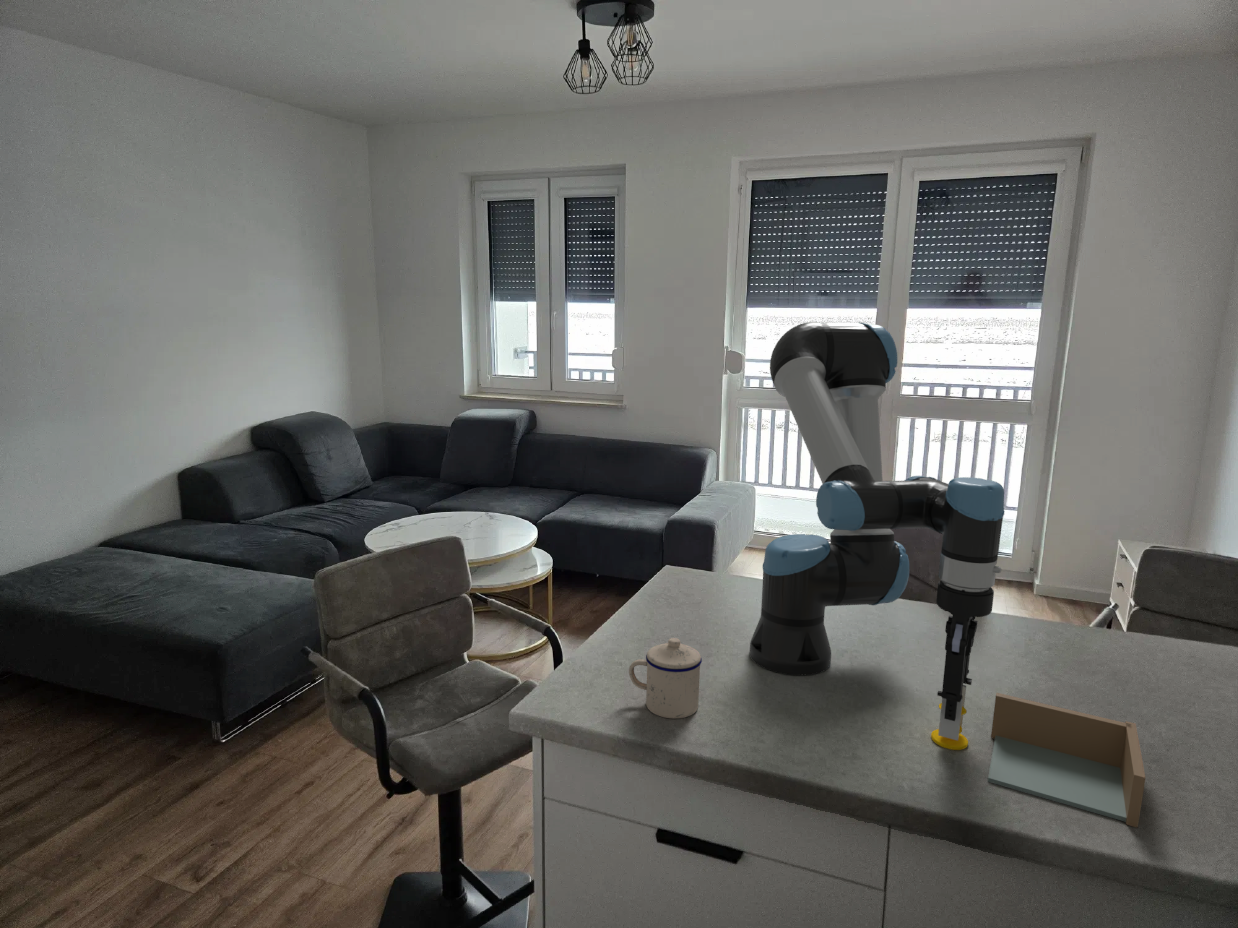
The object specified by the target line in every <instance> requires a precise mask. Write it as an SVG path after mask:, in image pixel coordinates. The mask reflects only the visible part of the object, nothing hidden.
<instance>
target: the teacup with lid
mask: <svg viewBox="0 0 1238 928" xmlns="http://www.w3.org/2000/svg"><path fill="white" fill-rule="evenodd" d="M702 662H703V660H702V656H701V653H700V652H699V651H698V650H697V649H696V648H694V647H692V646H690V645H687V644H683V643H681V640H680V639H679V638H677V637H672V638H669V639H668V640H667V642H666V643H662V644H661V643H660V644H657V645H654V646H652V647H651V648H649V649H648V651H647V652H646V655H645V659H642V658H640V659H636V660H634V661H633V662H631V663H630V665H629V668H628V674H629V678H630V681H631V682H632V684H633V685H634V686H635V687H636V688H638V689H641V690H644V691H646V692H645V694H646V697H645V698H646V699H645V700H646V701H645V704H646V705H645V706H646V707H647V709H648V710H649V711H650V712H651V713H652V714H655V715H656V716H659V717H661V718H667V719H683V718H687V717H691V716H692V715H693V714H695V713H696V712H697V711H698V709H699V701H700V700H699V697H700V696H699V695H700V677H701V675H700V674H701V673H700V671H701V664H702ZM637 666H644V667H646V683H644V682H641V681H640V680H639V679H638V678H637V676H636V674H635V667H637Z"/></svg>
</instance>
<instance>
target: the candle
mask: <svg viewBox="0 0 1238 928" xmlns="http://www.w3.org/2000/svg"><path fill="white" fill-rule="evenodd" d="M941 705H942V702H941V703H939V705H938V707H939V710H941ZM966 714H967V709H966V708H965V706H964V707H963V706H962V711H961V715H963V716H964V715H966ZM939 724H940V722H939ZM962 732H963V726H962V727H961V726H960V729H959V738H958V741H957V740H954V739H950V738H946V737H943V736H939V735H938V734H939V728H937V729H934V730H933V731H931V733H930V739H931V740H932V742H934V743H935V744H936V745H937V746H939V747H941V748H944V749H947V750H951V751H961V750H965V749H967V747H968V746H969V740H968V738H967V737H966V736H965V735H964V734H962Z"/></svg>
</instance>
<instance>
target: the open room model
mask: <svg viewBox="0 0 1238 928" xmlns="http://www.w3.org/2000/svg"><path fill="white" fill-rule="evenodd" d="M993 709H994V710H993V716H992V717H993V718H992V726H991V735H990V738H991V739H993V740H994V743H993V747H992V753H991V759H990V765H989V770H988V777H987V782H988V783H992V784H995V785H999V786H1001V787H1006V788H1008V789H1011V790H1015V791H1019V792H1022V793H1026V794H1029V795H1032V796H1035V797H1039V798H1043V799H1047V800H1050V801H1053V802H1056V803H1060V804H1063V805H1067V806H1070V807H1073V808H1077V809H1080V810H1083V811H1087V812H1091V813H1094V814H1096V815H1097V814H1098V815H1101V816H1105V817H1107V818H1111V819H1115V820H1118V821H1122V822H1125V825H1126V826H1129V827H1130V826H1131V827H1133V828H1139V821H1140V815H1141V808H1142V803H1143V795H1144V790H1145V784H1146V773H1145V768H1144V767H1145V766H1144V762H1143V756H1142V750H1141V746H1140V739H1139V736H1138V735H1139V734H1138V729H1137V723H1134V722H1131V721H1127V720H1126V721H1125V722H1123V721H1119V720H1114V719H1110V718H1107V717H1101V716H1097V715H1093V714H1090V713H1089V714H1088V713H1084V712H1081V711H1080V712H1079V711H1077V710H1073V709H1068V708H1063V707H1059V706H1055V705H1050V704H1047V703H1042V702H1038V701H1034V700H1030V699H1025V698H1021V697H1017V696H1012V695H1008V694H1004V693H1000V692H995V700H994V707H993Z"/></svg>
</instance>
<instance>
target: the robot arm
mask: <svg viewBox="0 0 1238 928" xmlns="http://www.w3.org/2000/svg"><path fill="white" fill-rule="evenodd" d="M897 367H898V351H897V346H896V343H895V341H894V337H893V336H892V334H891V333H890V332H889V331H888V330H887V329H886V328H885V327H883V326H882V325H879V324H874V323H872V324H871V323H867V322H818V321H815V322H814V321H809V322H803V323H799V324H798V325H795V326H793V327H791V328H790V329H789V330H787V331H786V332H785V333H784V334H782V336H781V337H780V338H779V339H778V341H777V342H776V344H775V346H774V348H773V350H772V352H771V356H770V362H769V373H770V378H771V382H772V383H773V386H774V388H775V390H776V392H777V393H778V394H779V395H781V396H782V397H784V398H785V400H786V403H787V404H788V407H789V408H790V412H791V414H792V416H793V418H794V421H795V423H796V425H797V428H798V430H799V432H800V435H801V437H802V439H803V441H804V444H805V446H806V449H807V451H808V453H809V456H810V458H811V460H812V463H813V464H814V468H815V469H816V472H817V475H818V477H819V479H820V481H821V485H820V486H819V488H818V490H817V493H816V500H815V506H816V508H817V513H816V514H817V517H818V519H819V521H820V523H821V524H822V525H823V527H825V528H827V529H829V530H832V531H831V532H830V534H829V535H830V536H829V539H830V542H829V540H828V539H827V538H825V537H824V536H821V535H817V534H805V533H795V534H788V535H784V536H783V535H782V536H780V537H777V538H775V539H773V540H772V541H770V542H769V543H768V545H767V546H766V548H765V549H764V558H763V563H762V572H763V573H762V589H761V590H762V591H761V608H760V617H759V620H758V622H757V625H756V627H755V629H754V632H753V634H752V637H751V640H750V642H749V657H750V658H751V660H752V662H754V663H755V664H756V665H758V666H760V667H761V668H763V669H766V670H768V671H771V672H774V673H778V674H784V675H788V676H789V675H790V676H809V675H817V674H820V673H822V672H825V671H826V670H828V669H829V667H831V661H832V649H831V646H830V642H829V637H828V634H827V630H826V626H825V610H826V607H836V606H837V607H839V606H840V607H841V606H859V605H862V606H863V605H870V606H877V605H879V604H889V603H893V602H895V601H897V600H899V598H900V597H901V596H902V594H903V593H904V592H905V589H906V588H907V585H908V582H909V577H910V560H909V556H908V554H907V553H906V551H907V550H906V548H905V547H904V545H903V544H902V543H900V542H897V541H895V533H894V531H893V530H896V529H897V530H899V529H900V530H901V529H905V530H906V529H930V530H931V531H934V532H937V533H939V534H940V535H942V540H941V541H942V542H941V543H942V544H941V550H940V556H939V557H940V558H939V565H938V574H937V575H938V578H939V579H940V580H939V581H938V582H937V591H936V592H937V593H936V600H935V602H936V605H937V606H938V608H939V609H941V610H943V611H945V612H948V613H949V614H951V615H948V619H947V620H946V622H945V627H944V628H945V630H944V631H945V634H946V637H945V644H944V645H945V646H944V649H945V651H946V652H945V661H944V670H943V677H942V678H943V681H942V687H941V688H942V690H938V691H937V693H936V695H937V697H940V698H942V699H941V703H942V705H941V709H940V716H939V723H940V724H939V727H938V729H939V734H938V735H939V736H943V737H946V738H950V739H954V740H957V741H958V738H959V729H960V726H961V727H962V728H963V719H964V715H961V711H962V706H963V707H964V708H965V702H966V693H967V685H970V686H972V683H973V682H972V681H973V678H969V677H968V675H969V674H970V669H969V668H970V667H969V666H970V658H971V653H972V647H973V646H974V642H975V636H976V632H977V628H978V620H976V618H982V617H987V616H988V615H991V613H992V612H993V604H994V596H995V590H994V589H993V588H992V587H994V586H995V583H996V576H997V575H996V574H1000V573H1002V568H1001V566H997V563H998V559H999V558H998V557H999V551H1000V550H999V549H1000V543H1001V534H1002V527H1003V526H1002V525H1003V519H1004V515H1005V508H1004V506H1005V489H1004V486H1003V485H1002V484H1001V483H999V482H997V481H994V480H991V479H984V478H980V477H969V476H968V477H967V476H965V477H955V478H952V479H951V480H950V481H949V482H948V483H947V482H944V481H941V480H940V479H938V478H935V477H932V476H924V475H913V476H910V477H908V478H906V479H904V480H883V466H882V464H883V463H882V450H881V431H880V427H881V425H880V411H879V409H880V408H879V399H880V398H881V396H882V395H883V394H884V393H885V392H886V391H887V390H886V389H887V388H886V387H887V384H888V383H889V382H890V381H891V380H892V379H893V378H894V377H895V374H896V369H895V368H897Z"/></svg>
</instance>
